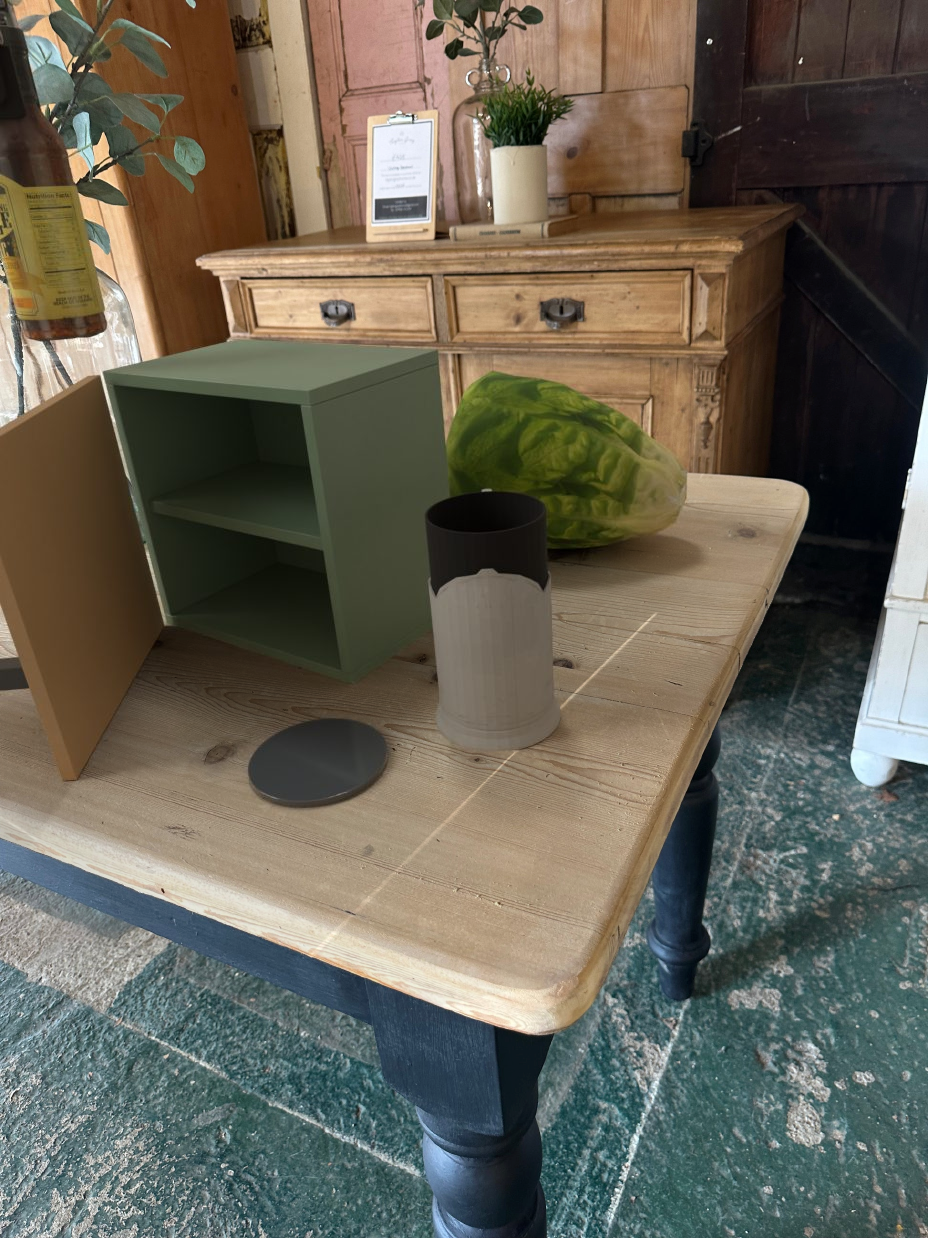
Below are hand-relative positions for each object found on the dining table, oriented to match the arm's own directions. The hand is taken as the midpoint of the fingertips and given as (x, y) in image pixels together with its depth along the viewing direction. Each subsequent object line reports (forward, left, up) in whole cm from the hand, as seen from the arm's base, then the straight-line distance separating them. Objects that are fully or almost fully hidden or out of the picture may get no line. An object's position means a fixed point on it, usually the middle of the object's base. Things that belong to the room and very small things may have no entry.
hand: (10, 118), depth 60 cm
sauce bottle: (0, 0, -15) cm, 15 cm away
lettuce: (+40, +4, -39) cm, 57 cm away
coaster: (+15, -26, -39) cm, 49 cm away
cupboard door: (-3, -13, -39) cm, 41 cm away
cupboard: (+15, -4, -39) cm, 42 cm away
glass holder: (+28, -21, -39) cm, 53 cm away
